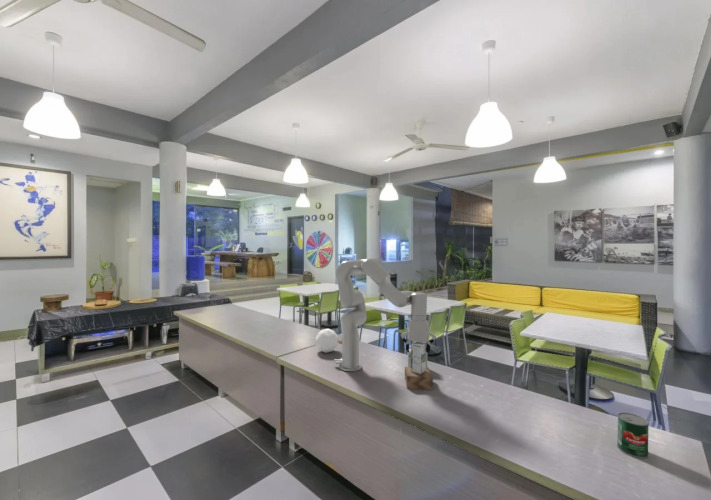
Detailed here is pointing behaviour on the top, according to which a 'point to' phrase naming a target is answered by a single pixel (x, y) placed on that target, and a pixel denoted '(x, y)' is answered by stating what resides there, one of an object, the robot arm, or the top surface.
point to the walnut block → (418, 379)
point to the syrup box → (418, 357)
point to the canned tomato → (633, 435)
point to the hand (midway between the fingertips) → (417, 351)
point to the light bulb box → (410, 359)
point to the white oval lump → (327, 340)
